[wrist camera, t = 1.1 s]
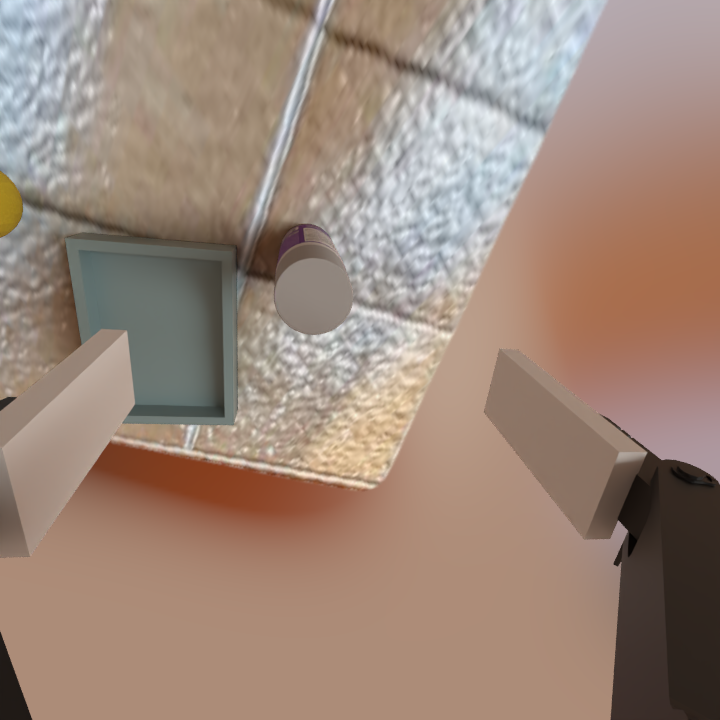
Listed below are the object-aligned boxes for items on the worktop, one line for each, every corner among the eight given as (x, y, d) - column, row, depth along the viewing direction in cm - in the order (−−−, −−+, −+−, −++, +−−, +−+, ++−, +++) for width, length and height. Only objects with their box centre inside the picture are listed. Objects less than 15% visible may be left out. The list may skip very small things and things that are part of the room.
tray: (82, 232, 35) (64, 238, 32) (236, 245, 37) (231, 251, 34) (107, 406, 41) (93, 422, 38) (237, 409, 43) (233, 425, 40)
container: (290, 284, 39) (287, 346, 25) (272, 232, 37) (259, 269, 23) (340, 269, 39) (364, 324, 25) (325, 217, 37) (343, 245, 23)
